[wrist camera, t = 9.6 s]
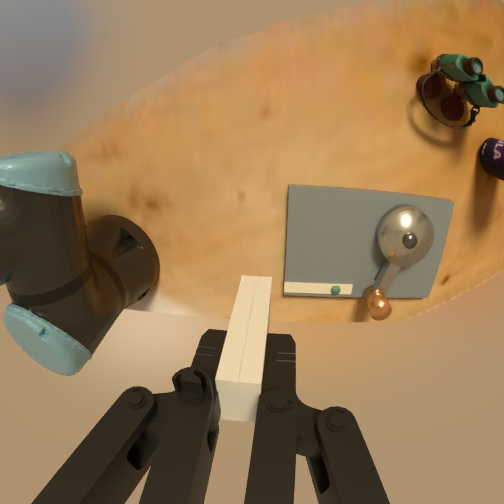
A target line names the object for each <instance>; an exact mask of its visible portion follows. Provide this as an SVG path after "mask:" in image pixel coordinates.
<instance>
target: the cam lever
mask: <svg viewBox="0 0 504 504" xmlns="http://www.w3.org/2000/svg"><path fill="white" fill-rule="evenodd" d="M376 240H377V244H378V246H379V248H380V250H381V251H382V253H383V255H384V256H385V258H386V261H385V263H384V265H383V267H382V269H381V271H380V273H379V275H378V277H377V279H376V281H375V283H374V284H373V285H371V286H369V287H368V288H367V289H366V290H365V292H364V296H365V299H366V302H367V305H368V308H369V311H370V314H371V317H372V318H373V319H374V320H378V321H379V320H384V319H386V318H387V317H388V316H389V315H390V313H391V310H392V309H391V306H390V304H389V301H388V299H387V297H386V294H387V292H388V290H389V288H390V286H391V285H392V283H393V281H394V279H395V277H396V275H397V274H398V272H399V270H400V268H401V267H406V266H411V265H414V264H416V263H418V262H419V261H421V260H422V259H423V258H424V257H425V256H426V255H427V254H428V252H429V251H430V249H431V247H432V244H433V241H434V227H433V224H432V222H431V220H430V219H429V217H428V216H427V215H426V214H424V213H423V212H422V211H421V210H419V209H418V208H417V207H415V206H413V205H409V204H401V205H397V206H395V207H393V208H391V209H390V210H388V211H387V212H386V213H385V214H384V215H383V216H382V218H381V219H380V221H379V223H378V226H377V230H376Z"/></svg>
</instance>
